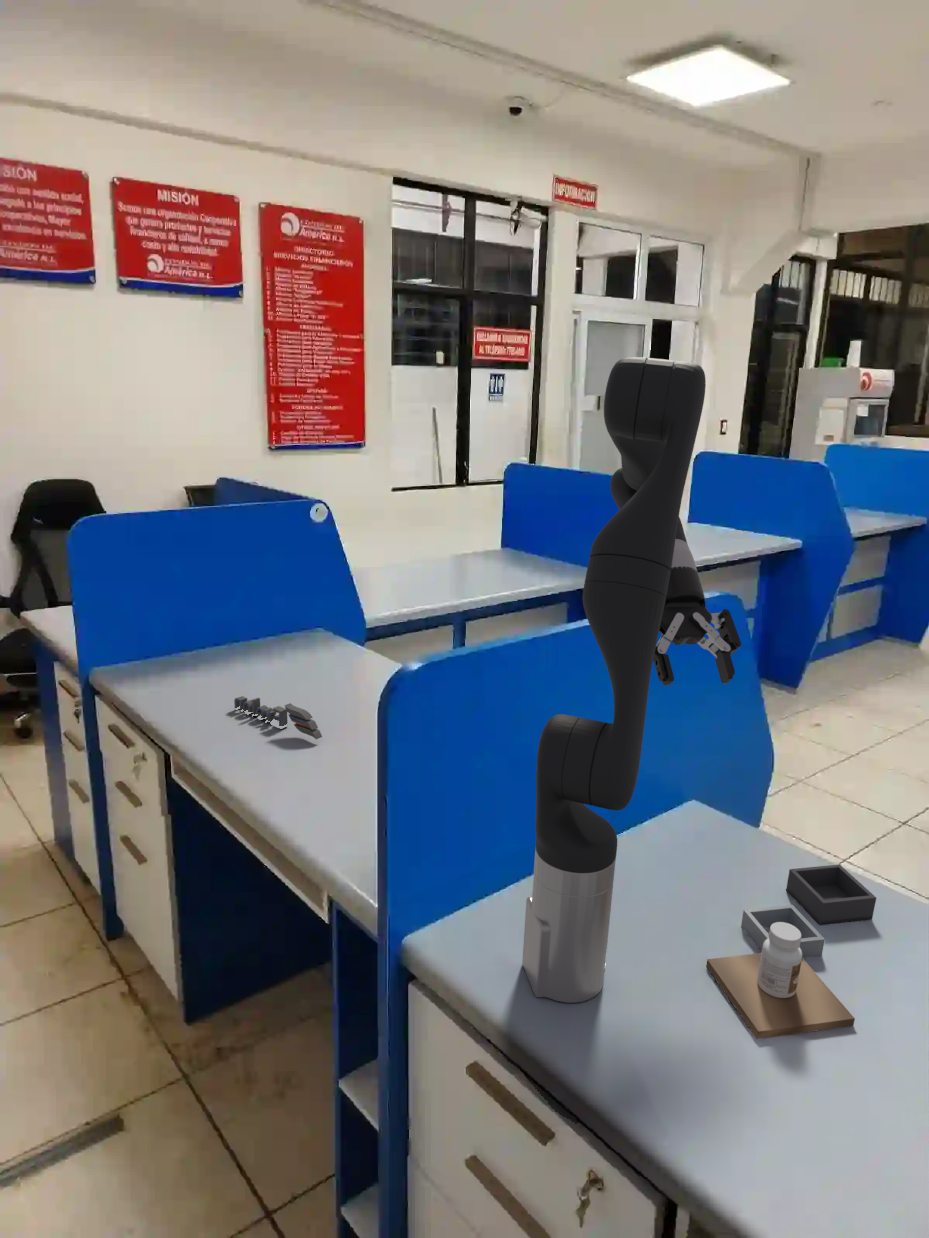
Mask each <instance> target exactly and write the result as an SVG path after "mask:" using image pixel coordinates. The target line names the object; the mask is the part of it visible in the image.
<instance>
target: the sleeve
mask: <svg viewBox="0 0 929 1238" xmlns="http://www.w3.org/2000/svg"><path fill="white" fill-rule="evenodd" d="M742 912H743V913H742V917H741V924H740V926H741V928H742V929H743V930H744V931H745V933H746V934H747V935H748V936H749V938H750V939H751V940H752V941H753V942H754V943H755V945H756V946H757V947H758V949H759V950H760V951H761V952H762V947H763V943H764V941H765V940H766V939H768V938H769V933H768V931H767V930H766V929H765V928H764V927H771V925H772V924H773V923H776V922H785V923H789V924H791V925H793V926H795V927H796V928H797V929H798V930H799V931H800V932H801V942H800V946H799V947H800V949H801V951H802V958H803V959H807V958H816V957H822V956H823V952H824V951H823V950H824V946H825V940H826V939H825V938H824V936H822V934H820V932H818V930H817V929H816V928H815V927H814V926H813V925H812V924H811V923H810V921H808V920H807V918H805V917H804V915H803V914H802V913H801V912H800V911H799V909H797V907H795V905H793V904H786V905H777V906H767V907H759V908H748V909H743V911H742Z"/></svg>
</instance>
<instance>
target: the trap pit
mask: <svg viewBox="0 0 929 1238" xmlns="http://www.w3.org/2000/svg"><path fill="white" fill-rule="evenodd" d="M785 891H786V892H787V893H788V895H790V897H792V898H793V900H795V902H796V903H797V904H798V905H799V906H800V907H801V908H802V909H803V910H804V911H805V913H807V914H808V915H809V916H810V917H811V919H813V920H814V922H815V923H816V924H817V925H818V926H819V927H821V926H829V925H830V926H831V925H836V924H837V925H838V924H845V923H847V924H848V923H856V922H867V921H873V916H874V912H875V907H876V902H877V897H876V896H875V894H873V893H872V892H871V891H870V890H869V889H867V888H866V887H865V886H864V884H862V883H861V882H860V881H858V879H856V878H855V877H854V876H853V875H852V874H851V873H850V872H849V871H848V870H846V868H844V867H843V866H842V865H841V864H830V865H821V866H809V867H800V868H798V867H797V868H789V871H788V877H787V883H786V888H785Z"/></svg>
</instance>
